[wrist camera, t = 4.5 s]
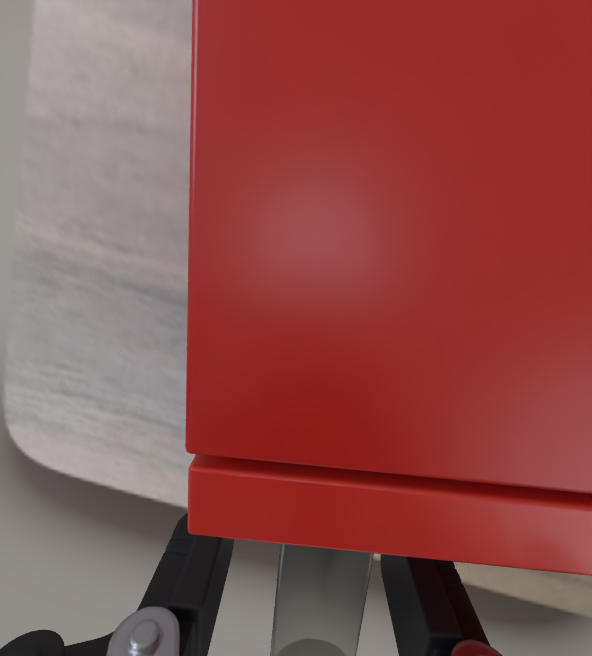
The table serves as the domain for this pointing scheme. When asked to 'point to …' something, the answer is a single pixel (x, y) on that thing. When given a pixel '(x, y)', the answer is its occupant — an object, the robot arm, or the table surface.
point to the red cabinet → (393, 237)
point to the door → (374, 534)
